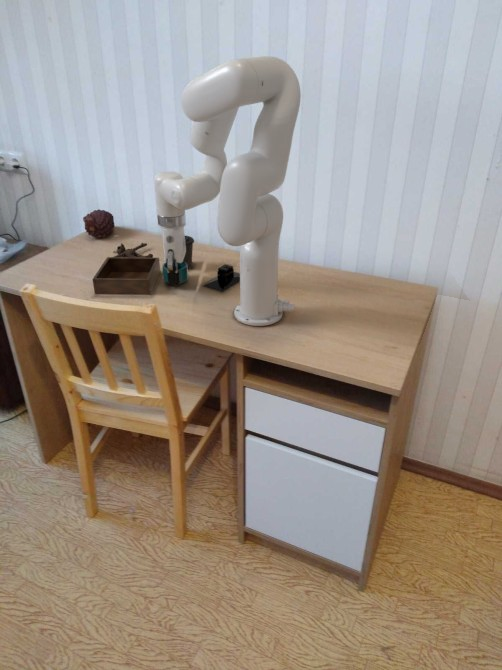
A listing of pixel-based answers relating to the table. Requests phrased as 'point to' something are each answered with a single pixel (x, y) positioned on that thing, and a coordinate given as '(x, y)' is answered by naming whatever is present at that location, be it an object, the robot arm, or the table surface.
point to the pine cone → (99, 223)
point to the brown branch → (130, 251)
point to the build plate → (224, 279)
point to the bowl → (181, 269)
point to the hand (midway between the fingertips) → (176, 278)
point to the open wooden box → (127, 276)
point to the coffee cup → (188, 250)
